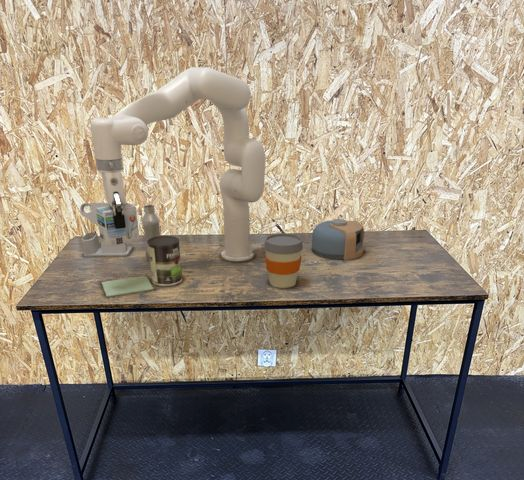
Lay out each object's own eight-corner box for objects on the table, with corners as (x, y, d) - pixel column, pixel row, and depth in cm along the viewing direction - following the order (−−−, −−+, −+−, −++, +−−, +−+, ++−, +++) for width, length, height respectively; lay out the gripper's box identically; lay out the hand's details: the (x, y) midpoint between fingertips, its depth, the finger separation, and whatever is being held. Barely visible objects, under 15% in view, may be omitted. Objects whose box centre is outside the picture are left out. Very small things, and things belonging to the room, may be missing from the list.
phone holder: (81, 256, 189) (72, 209, 180) (89, 247, 197) (80, 202, 188) (127, 256, 189) (120, 209, 180) (132, 247, 198) (126, 201, 189)
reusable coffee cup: (261, 289, 163) (261, 244, 155) (266, 274, 174) (266, 232, 166) (299, 291, 162) (301, 246, 154) (302, 276, 172) (304, 234, 165)
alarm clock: (354, 263, 183) (357, 231, 177) (304, 254, 191) (305, 224, 185) (368, 247, 198) (371, 217, 192) (321, 240, 206) (323, 211, 200)
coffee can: (188, 278, 170) (185, 238, 163) (168, 288, 163) (164, 247, 156) (165, 272, 175) (161, 233, 168) (145, 282, 168) (140, 241, 160)
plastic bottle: (147, 264, 182) (140, 209, 172) (145, 257, 188) (139, 204, 178) (164, 262, 184) (159, 208, 173) (162, 256, 189) (157, 203, 179)
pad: (146, 276, 172) (146, 275, 171) (153, 289, 162) (153, 288, 162) (101, 283, 167) (101, 282, 166) (106, 297, 157) (106, 295, 157)
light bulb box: (109, 247, 151) (103, 212, 146) (99, 241, 156) (94, 207, 150) (140, 240, 157) (136, 206, 152) (131, 235, 162) (126, 201, 156)
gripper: (128, 169, 139) (135, 230, 148) (118, 159, 153) (125, 216, 162) (100, 171, 137) (109, 233, 145) (92, 160, 150) (101, 218, 159)
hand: (118, 224), depth 154 cm, fingers closed on light bulb box, 8 cm apart
